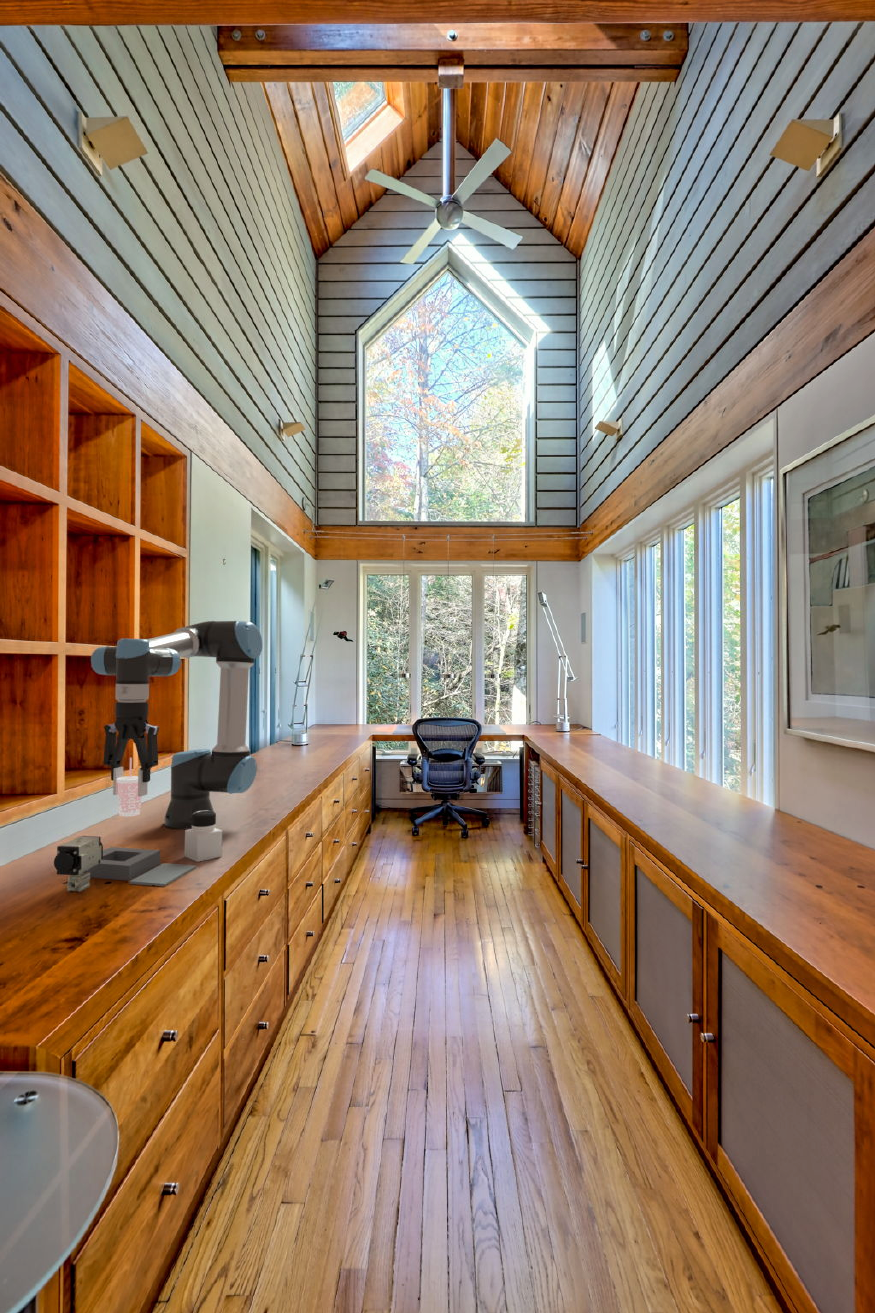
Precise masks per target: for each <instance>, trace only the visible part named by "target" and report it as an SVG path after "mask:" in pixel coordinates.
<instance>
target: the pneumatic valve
mask: <svg viewBox="0 0 875 1313" xmlns="http://www.w3.org/2000/svg"><path fill="white" fill-rule="evenodd" d="M101 839H102V838H101V836H95V835H94V836H93V835H92V836H91V835H88V836H87V835H78V836H77V837H76V838H74V839H71V840H70V841H67V842H65V843H63V844H60V845H58V846H57V847H56V856H55V857H54V859H53V866H54V868H55V870H56V875H61V876H62V875H63V876H64V875H66V876H67V878H66V880H67V883H66V887H67V889H66V890H67V892H71V891H72V892H79V893H80V892H83V891H84V890H86V889H88V888H90V887H91V883H90V880H91V878H90V873H89V872H87V873H82V872H84V871H87V870H89V869H90V868H91V867H93V866H95V865H97V864H99V863H100V860H101V859H102V858H103V850H104V845H103V843H102V840H101Z"/></svg>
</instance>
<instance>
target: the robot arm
mask: <svg viewBox="0 0 875 1313" xmlns="http://www.w3.org/2000/svg"><path fill="white" fill-rule="evenodd" d="M262 651H263V639H262V635H261V632H260V630H259V628H258V626H257V625H256V624H254V623H253V622H251V621H242V620H225V621H223V620H218V621H217V620H216V621H215V620H210V621H209V620H207V621H203V622H199V623H194V624H191V625H187V626H183V627H179V628H177V629H176V630H175V631H173V632H171V633H168V634H167V633H166V634H163V635H160V636H156V637H152V638H147V639H146V638H120V639H118V641H117V643H116V646H108V645H107V646H99V647H98V648H96V649H94V651H93V652H92V654H91V656H90V662H91V663H90V664H91V668H92V670H93V671H94V672H95V673H96V674H98V675H105V676H115V677H116V680H115V700H116V702H115V703H114V704H115V705H114V709H115V710H114V716H115V718H116V719H115V722H114V723H111V724H106V725H104V726H103V729H104V733H105V740H104V751H103V752H104V753H103V765H105V766H108V767H109V768H110V770H111V771H110V779H111V781H113V783H112V785H113V786H112V787H113V788H112V795H113V796H119V794H118V783H117V778H120V777H124V766H123V764H122V762H123V758H124V754H125V751H126V747H127V745H128V742H129V741H130V740H132V742H133V743H134V744H135V748H136V753H137V756H138V761H139V763H140V767H139V769H137V770H138V771H137V772H138V773H137V776H138V796H140V797H141V798H142V796H146V795H148V783H149V782H150V781H151V769H152V768H153V767H156V766H158V765H159V751H158V750H159V748H158V747H159V746H158V745H159V744H158V734H159V730H160V727H159V726H158V725H152V724H149V720H148V717H149V707H150V706H149V705H150V704H149V702H148V701H147V700H149V698H150V677H169V676H173V675H174V674H176V673H177V672H178V671H179V669H180V667H181V665H182V659H181V658H184V659H189V658H193V657H204V658H215V664H217V665H218V667H219V668H220V675H219V699H218V716H217V718H218V719H217V735H216V736H217V737H216V745H215V746H214V747H213V748H212V749H211V750H210V749H209V748H201V749H191V750H185V751H179V752H176V753H174V754H173V755H172V757H171V765H170V802H169V804H168V807H167V810H166V812H165V815H164V826H165V827H167V828H171V829H192V815H193V813H195V812H198V811H205V810H208V811H213V812H215V811H214V808H213V805H212V801H211V797H210V796H211V795H210V793H227V794H231V795H233V794H243V793H246V792H247V791H248V790H249V789H250V788H251V787H252V785H253V784H254V782H255V779H256V776H257V769H258V764H257V760H256V758H255V757H254V756H253V755H252V756H251V749H250V748H249V747H248V746H247V745H246V743H247V742H246V739H247V718H248V698H249V697H248V694H249V678H250V677H249V675H250V674H249V673H250V668H252V667H253V666H254V665H255V659H257V658H259V657H260V656H261V654H262ZM117 732H118V733H117ZM145 733H146V734H147V735H146V734H145Z"/></svg>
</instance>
